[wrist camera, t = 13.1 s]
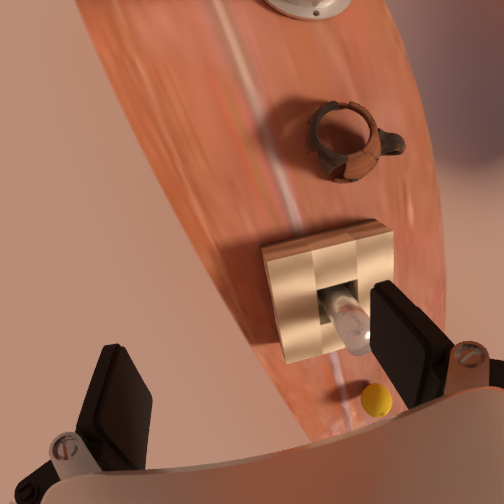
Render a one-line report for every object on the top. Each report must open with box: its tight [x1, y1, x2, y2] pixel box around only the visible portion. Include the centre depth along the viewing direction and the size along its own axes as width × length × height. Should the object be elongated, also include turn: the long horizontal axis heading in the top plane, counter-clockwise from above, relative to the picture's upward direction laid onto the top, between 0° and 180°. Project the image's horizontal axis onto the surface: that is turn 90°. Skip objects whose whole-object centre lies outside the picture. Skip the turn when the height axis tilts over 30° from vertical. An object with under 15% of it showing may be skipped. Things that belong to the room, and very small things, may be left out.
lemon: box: [361, 383, 392, 417], centre depth 50 cm, size 6×6×8 cm
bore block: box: [260, 219, 394, 364], centre depth 42 cm, size 16×16×5 cm
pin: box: [316, 283, 371, 356], centre depth 37 cm, size 4×4×12 cm
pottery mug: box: [305, 101, 406, 183], centre depth 34 cm, size 12×9×8 cm
